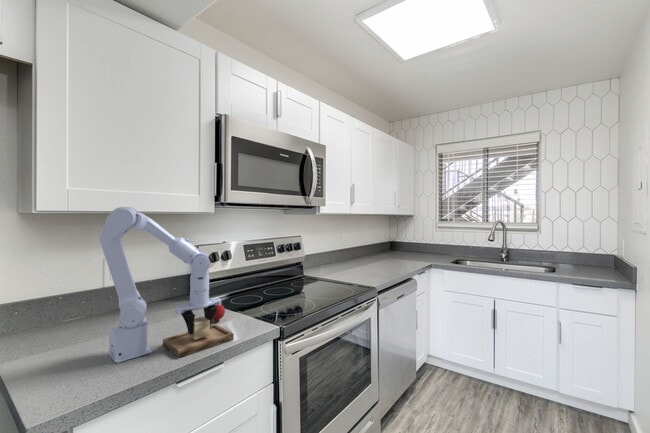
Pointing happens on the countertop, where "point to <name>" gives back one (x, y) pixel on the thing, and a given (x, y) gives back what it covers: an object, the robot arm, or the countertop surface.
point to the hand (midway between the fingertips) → (199, 330)
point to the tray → (197, 341)
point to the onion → (219, 312)
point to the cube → (200, 328)
